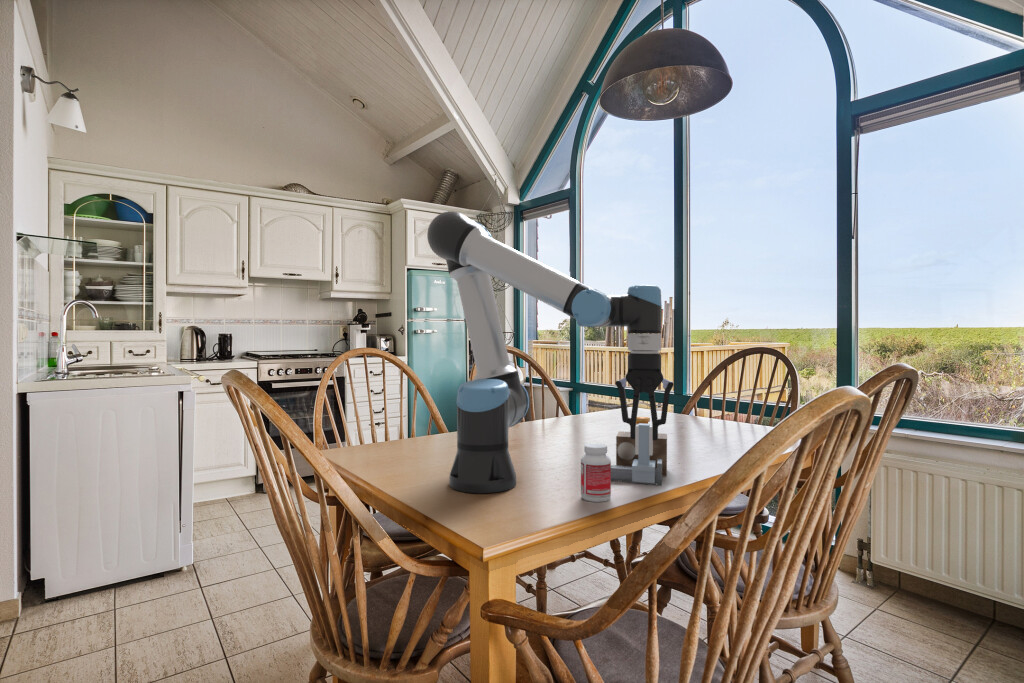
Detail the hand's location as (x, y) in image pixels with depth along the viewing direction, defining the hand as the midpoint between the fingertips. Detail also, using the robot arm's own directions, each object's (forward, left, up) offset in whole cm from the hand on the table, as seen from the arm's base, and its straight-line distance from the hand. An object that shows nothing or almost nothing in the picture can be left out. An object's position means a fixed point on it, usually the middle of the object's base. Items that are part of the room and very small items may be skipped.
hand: (644, 453), depth 125 cm
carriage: (0, 0, -6) cm, 6 cm away
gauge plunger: (-1, +10, 0) cm, 10 cm away
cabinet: (-1, +10, -6) cm, 12 cm away
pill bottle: (-9, -16, -7) cm, 20 cm away
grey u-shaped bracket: (-5, 0, -6) cm, 8 cm away
